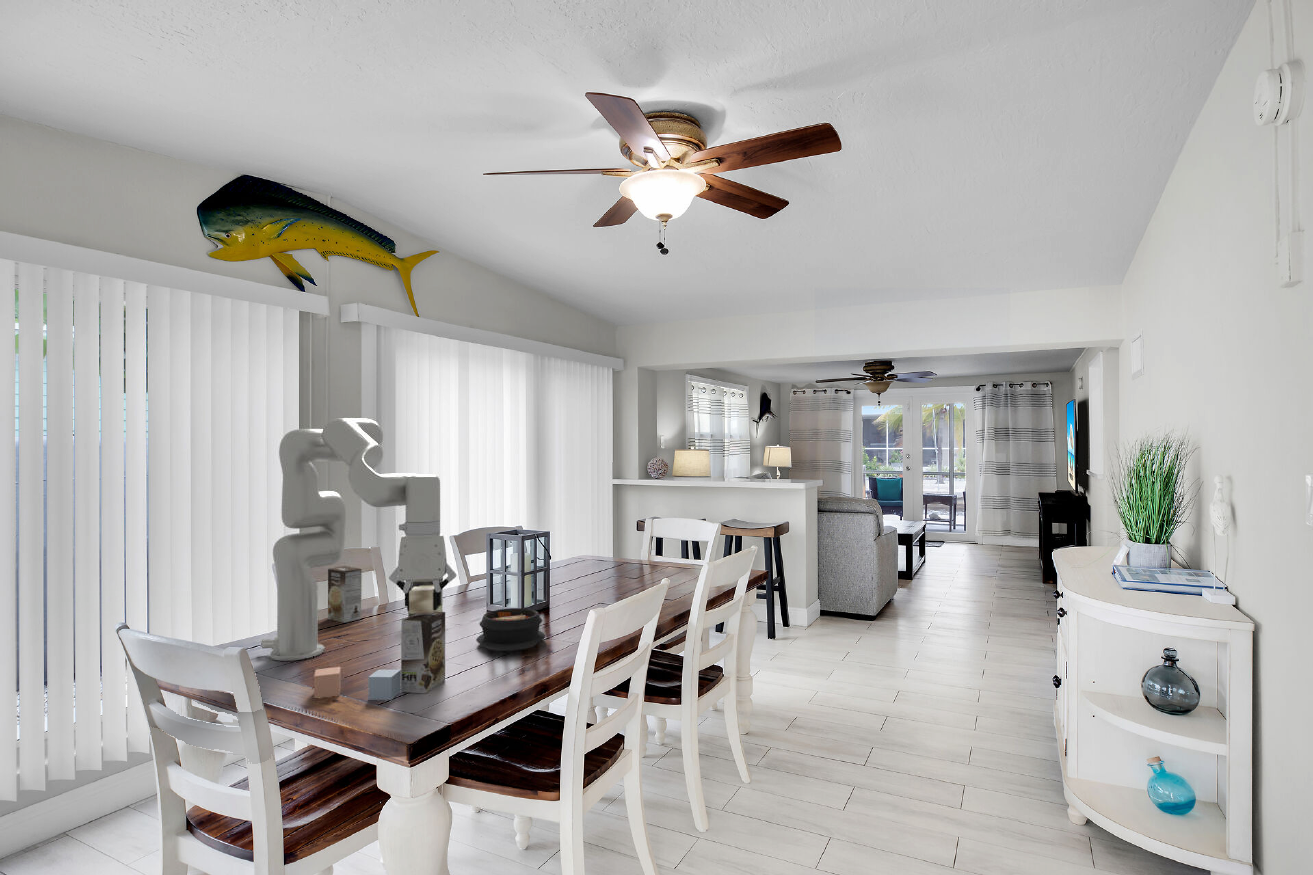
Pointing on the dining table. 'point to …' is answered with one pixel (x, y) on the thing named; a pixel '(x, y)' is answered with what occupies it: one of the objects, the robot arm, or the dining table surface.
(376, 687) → the slate block
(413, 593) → the maple cube
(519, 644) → the casserole
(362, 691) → the dining table surface
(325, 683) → the terracotta block
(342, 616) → the coffee box
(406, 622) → the coffee box
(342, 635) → the dining table surface
